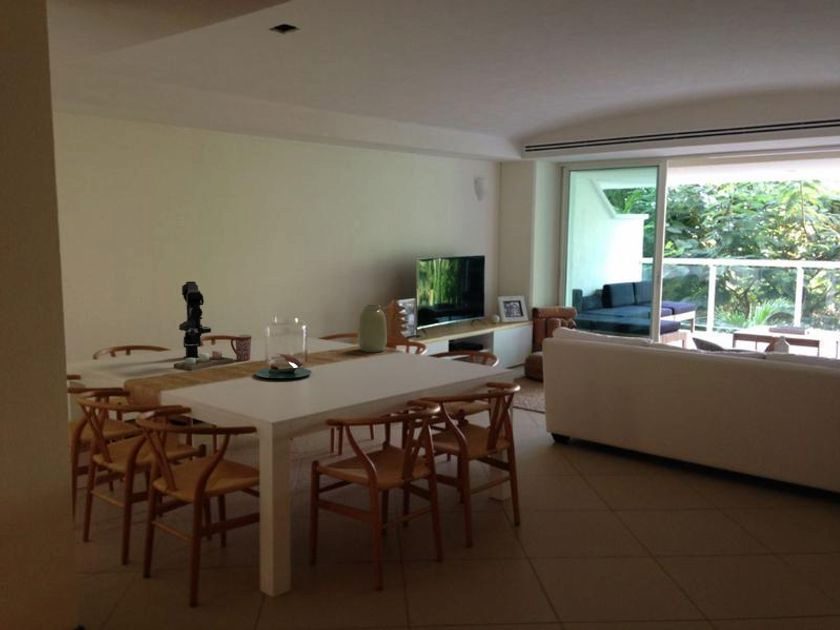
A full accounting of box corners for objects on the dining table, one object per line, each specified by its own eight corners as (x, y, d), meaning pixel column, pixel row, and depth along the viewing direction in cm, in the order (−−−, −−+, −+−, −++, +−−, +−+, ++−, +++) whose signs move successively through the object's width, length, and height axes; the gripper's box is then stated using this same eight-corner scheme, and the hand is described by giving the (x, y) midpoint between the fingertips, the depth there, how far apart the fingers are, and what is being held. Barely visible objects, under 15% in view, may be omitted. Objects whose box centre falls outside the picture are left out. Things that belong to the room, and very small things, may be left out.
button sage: (183, 366, 381) (183, 358, 380) (191, 364, 385) (191, 357, 385) (190, 367, 378) (189, 359, 378) (197, 366, 382) (197, 358, 382)
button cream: (197, 361, 388) (197, 353, 388) (204, 359, 392) (204, 352, 392) (203, 362, 386) (203, 354, 385) (211, 361, 390) (210, 353, 389)
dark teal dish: (312, 380, 354) (312, 358, 353) (252, 382, 350) (252, 359, 348) (311, 369, 382) (311, 348, 380) (256, 370, 377) (255, 349, 376)
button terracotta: (210, 358, 396) (210, 351, 395) (217, 357, 400) (217, 350, 400) (216, 359, 393) (216, 352, 393) (223, 358, 397) (223, 351, 397)
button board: (173, 367, 381) (173, 363, 381) (215, 359, 405) (215, 355, 405) (192, 370, 374) (192, 366, 374) (233, 362, 397) (233, 358, 397)
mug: (255, 359, 407) (255, 335, 406) (244, 361, 399) (244, 337, 398) (237, 357, 413) (237, 333, 411) (226, 359, 405) (226, 335, 403)
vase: (385, 352, 433) (386, 307, 430) (356, 352, 433) (356, 307, 430) (387, 348, 450) (387, 304, 447) (359, 347, 451) (359, 303, 447)
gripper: (170, 315, 384) (171, 344, 386) (194, 319, 374) (194, 349, 376) (187, 312, 393) (188, 341, 395) (211, 316, 383) (212, 346, 385)
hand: (195, 344), depth 388 cm, fingers closed
